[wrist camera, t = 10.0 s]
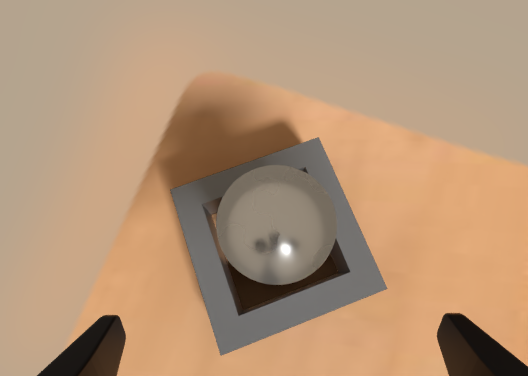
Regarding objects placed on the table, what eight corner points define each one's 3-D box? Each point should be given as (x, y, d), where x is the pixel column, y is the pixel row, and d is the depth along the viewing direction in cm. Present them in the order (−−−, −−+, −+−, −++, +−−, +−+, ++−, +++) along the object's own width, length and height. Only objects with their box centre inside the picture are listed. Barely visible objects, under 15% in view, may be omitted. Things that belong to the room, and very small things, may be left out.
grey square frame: (369, 287, 22) (387, 288, 19) (228, 343, 21) (220, 355, 18) (311, 156, 25) (318, 137, 21) (183, 202, 24) (170, 189, 21)
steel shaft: (319, 266, 23) (356, 258, 13) (252, 292, 22) (239, 304, 13) (293, 201, 24) (309, 149, 14) (229, 224, 24) (201, 188, 14)
